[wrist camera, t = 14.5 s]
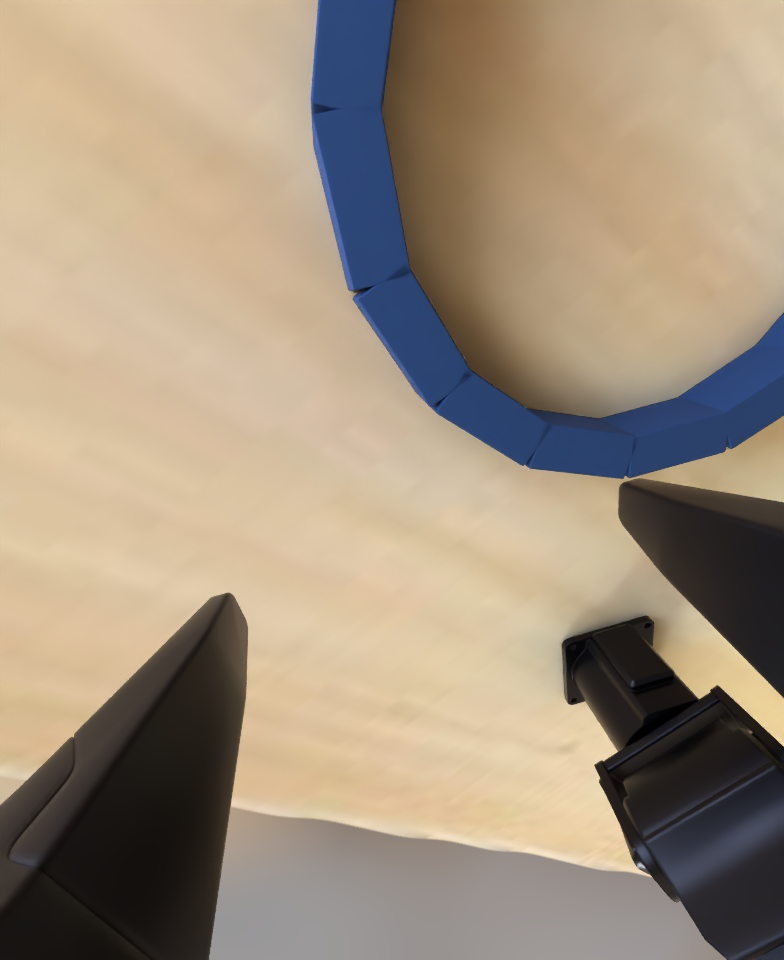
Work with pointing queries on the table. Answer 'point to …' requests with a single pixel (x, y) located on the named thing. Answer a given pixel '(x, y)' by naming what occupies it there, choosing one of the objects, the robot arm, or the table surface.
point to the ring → (423, 337)
